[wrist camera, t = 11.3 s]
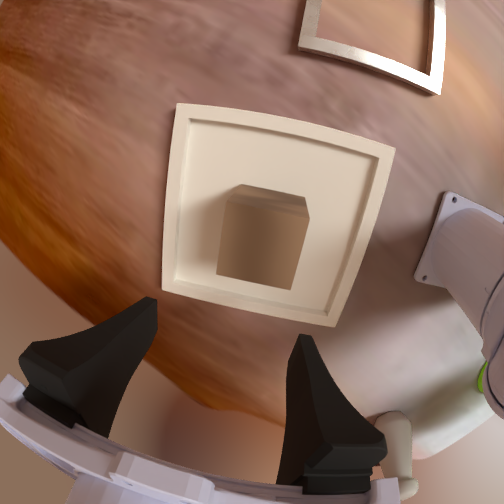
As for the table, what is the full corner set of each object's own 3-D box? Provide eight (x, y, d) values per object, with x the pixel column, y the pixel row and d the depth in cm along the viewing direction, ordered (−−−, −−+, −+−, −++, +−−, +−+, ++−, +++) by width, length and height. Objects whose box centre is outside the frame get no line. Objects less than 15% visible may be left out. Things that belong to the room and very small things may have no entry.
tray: (389, 147, 17) (395, 148, 16) (333, 319, 24) (334, 327, 22) (183, 104, 18) (177, 103, 17) (167, 282, 24) (161, 289, 23)
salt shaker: (361, 420, 30) (369, 505, 18) (398, 401, 28) (416, 488, 16) (379, 432, 31) (389, 507, 20) (413, 415, 29) (430, 491, 17)
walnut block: (304, 197, 19) (309, 219, 15) (290, 254, 21) (290, 290, 16) (241, 183, 19) (225, 201, 15) (231, 242, 21) (216, 274, 17)
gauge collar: (439, -6, 10) (444, -9, 9) (433, 95, 15) (440, 94, 14) (316, -49, 11) (317, -55, 10) (297, 50, 15) (297, 46, 14)
